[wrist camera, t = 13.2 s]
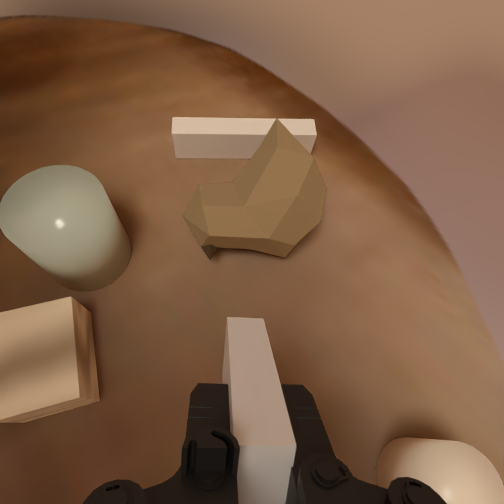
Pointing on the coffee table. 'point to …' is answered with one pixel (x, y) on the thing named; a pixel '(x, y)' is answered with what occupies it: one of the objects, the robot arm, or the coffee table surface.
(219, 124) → the rail
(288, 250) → the low-poly potato
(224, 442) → the robot arm
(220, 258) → the coffee table surface
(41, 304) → the birch box
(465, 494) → the cream capsule
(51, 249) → the pale green egg
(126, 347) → the coffee table surface
